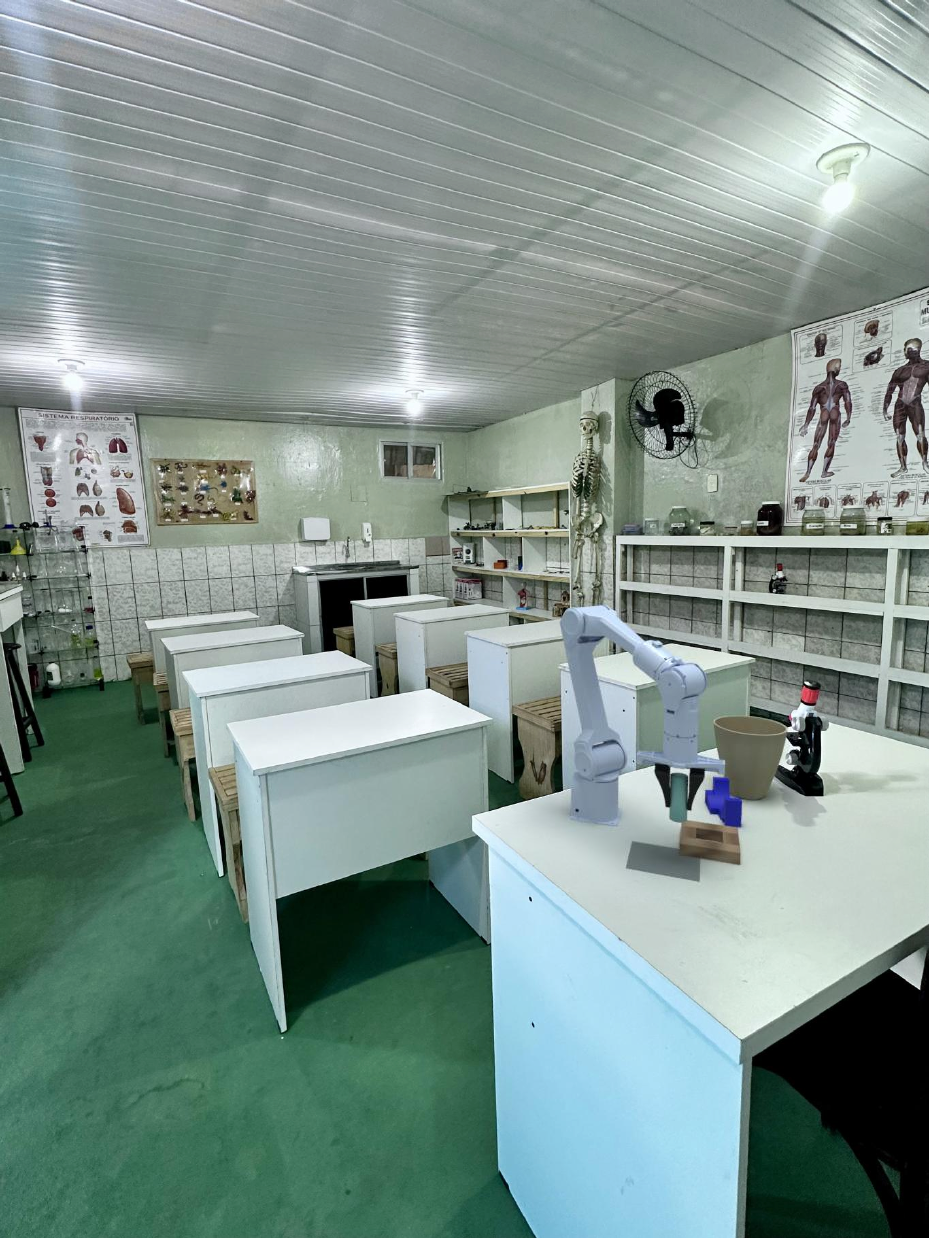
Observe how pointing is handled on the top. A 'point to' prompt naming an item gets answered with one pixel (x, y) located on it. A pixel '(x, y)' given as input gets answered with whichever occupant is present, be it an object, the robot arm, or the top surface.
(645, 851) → the mat
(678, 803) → the peg
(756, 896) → the top surface
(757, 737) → the plant pot
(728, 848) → the socket block
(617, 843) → the top surface
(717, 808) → the cable clip
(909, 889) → the top surface
